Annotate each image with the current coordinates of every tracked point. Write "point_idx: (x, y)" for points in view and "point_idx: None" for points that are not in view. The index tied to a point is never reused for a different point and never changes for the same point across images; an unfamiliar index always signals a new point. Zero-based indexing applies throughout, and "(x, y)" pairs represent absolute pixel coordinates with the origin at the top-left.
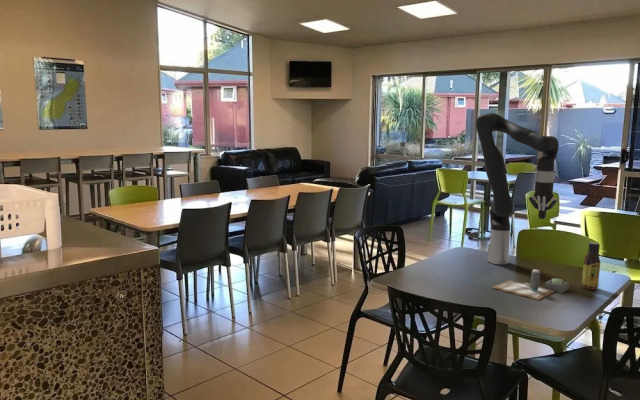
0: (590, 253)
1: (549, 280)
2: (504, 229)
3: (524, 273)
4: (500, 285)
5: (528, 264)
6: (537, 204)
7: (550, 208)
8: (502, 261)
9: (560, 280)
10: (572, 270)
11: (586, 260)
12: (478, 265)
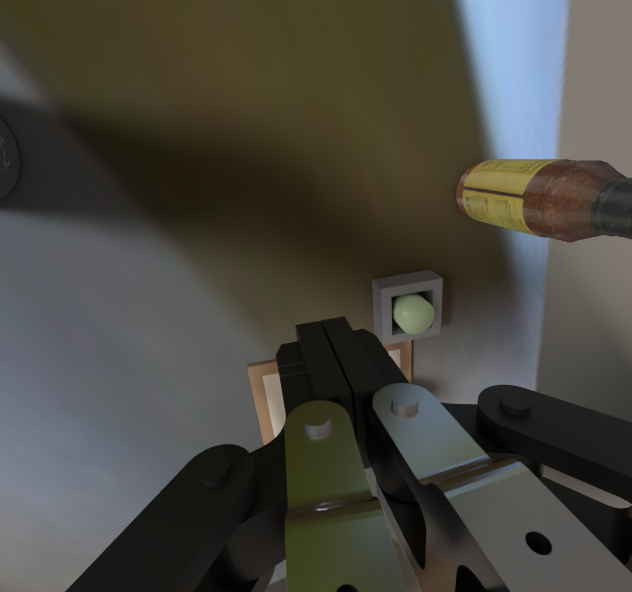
0: (604, 234)
1: (382, 314)
2: None
3: (204, 222)
4: (271, 432)
5: (76, 20)
6: (203, 570)
7: (540, 419)
8: (6, 180)
9: (429, 316)
10: None
11: (555, 238)
12: None
